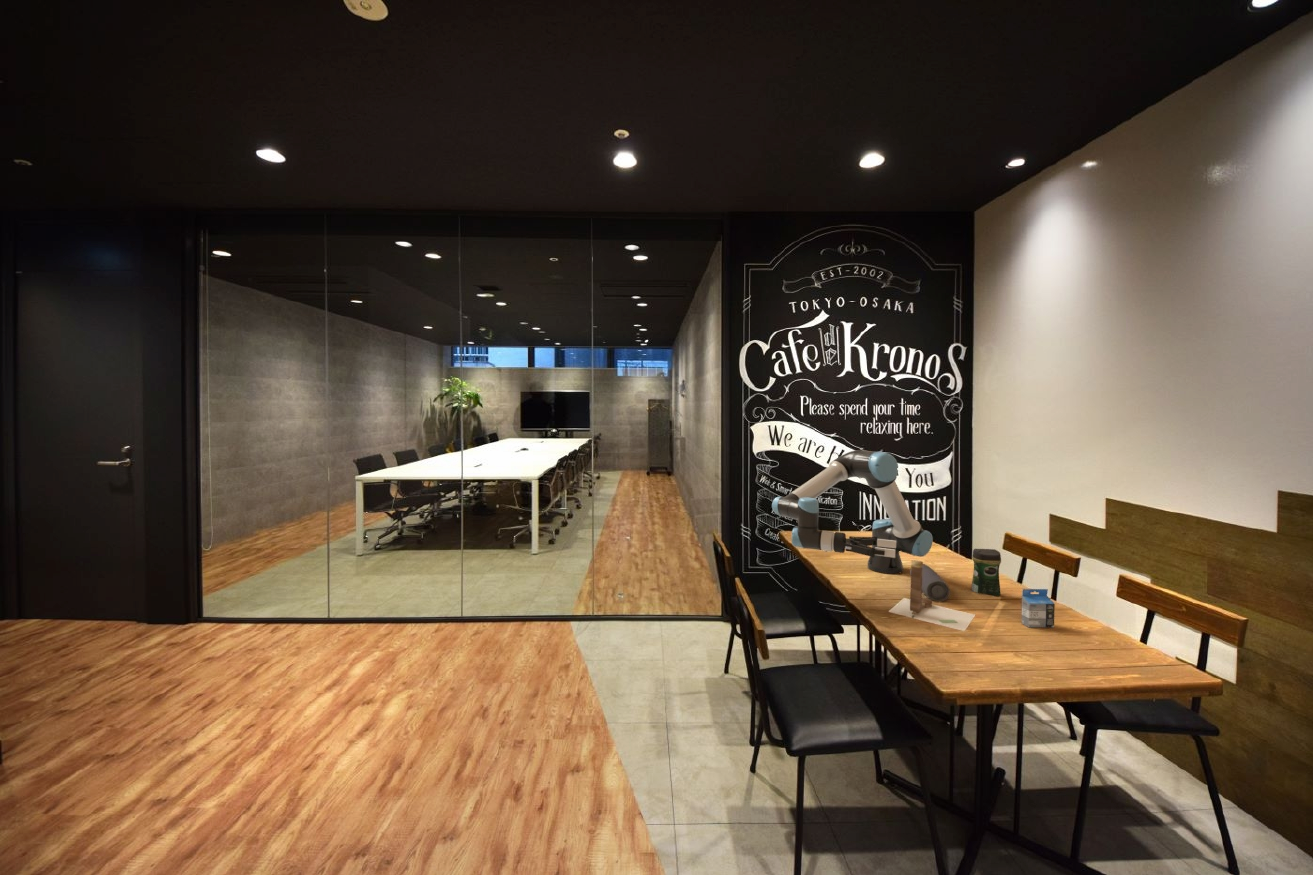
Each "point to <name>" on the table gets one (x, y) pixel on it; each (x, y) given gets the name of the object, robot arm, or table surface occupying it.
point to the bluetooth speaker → (934, 585)
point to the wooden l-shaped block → (917, 588)
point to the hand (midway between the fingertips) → (895, 549)
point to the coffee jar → (986, 572)
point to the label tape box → (1037, 608)
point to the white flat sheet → (935, 615)
